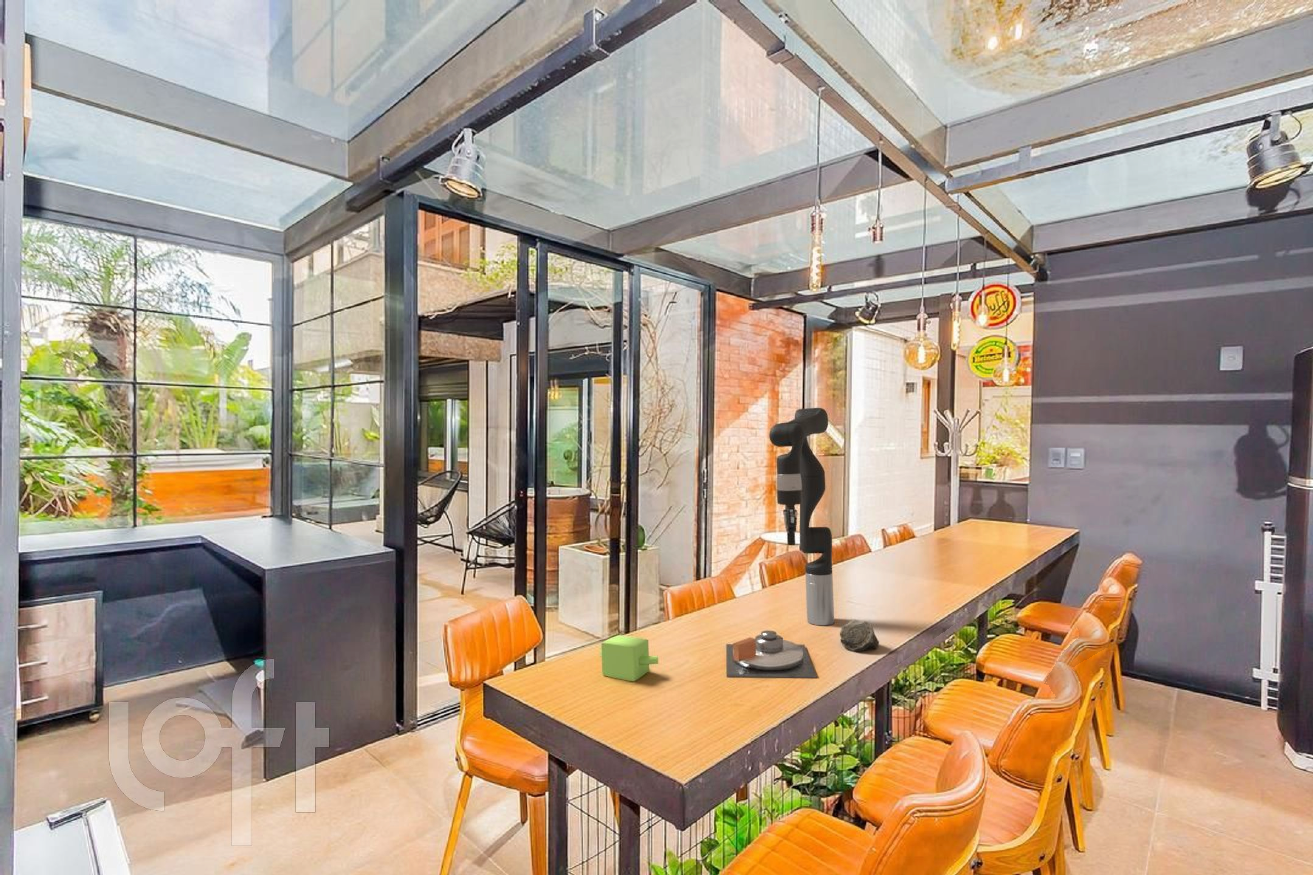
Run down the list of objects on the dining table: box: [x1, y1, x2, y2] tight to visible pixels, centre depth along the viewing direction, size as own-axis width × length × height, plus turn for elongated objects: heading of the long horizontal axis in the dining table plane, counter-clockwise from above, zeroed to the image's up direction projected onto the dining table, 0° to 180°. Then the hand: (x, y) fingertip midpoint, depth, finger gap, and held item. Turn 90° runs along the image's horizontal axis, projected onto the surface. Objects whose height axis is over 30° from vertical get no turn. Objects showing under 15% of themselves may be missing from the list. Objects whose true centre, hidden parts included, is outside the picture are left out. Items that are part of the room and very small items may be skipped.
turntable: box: [732, 637, 803, 670], centre depth 170 cm, size 20×23×7 cm
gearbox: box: [599, 634, 659, 682], centre depth 166 cm, size 18×10×10 cm, turn 59°
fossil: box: [839, 619, 880, 653], centre depth 181 cm, size 11×9×10 cm
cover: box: [754, 629, 784, 653], centre depth 172 cm, size 8×8×5 cm
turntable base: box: [725, 643, 817, 679], centre depth 171 cm, size 24×24×1 cm
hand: (791, 544), depth 180 cm, fingers closed
